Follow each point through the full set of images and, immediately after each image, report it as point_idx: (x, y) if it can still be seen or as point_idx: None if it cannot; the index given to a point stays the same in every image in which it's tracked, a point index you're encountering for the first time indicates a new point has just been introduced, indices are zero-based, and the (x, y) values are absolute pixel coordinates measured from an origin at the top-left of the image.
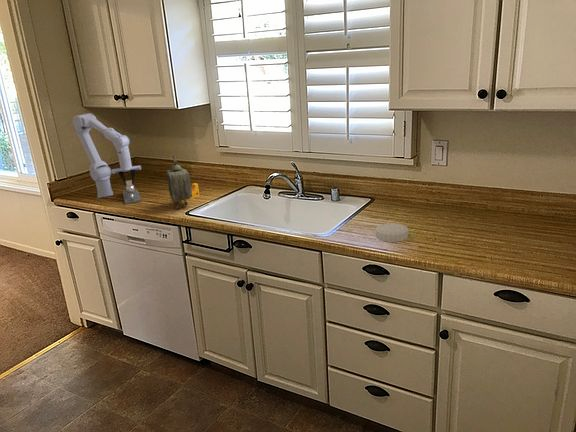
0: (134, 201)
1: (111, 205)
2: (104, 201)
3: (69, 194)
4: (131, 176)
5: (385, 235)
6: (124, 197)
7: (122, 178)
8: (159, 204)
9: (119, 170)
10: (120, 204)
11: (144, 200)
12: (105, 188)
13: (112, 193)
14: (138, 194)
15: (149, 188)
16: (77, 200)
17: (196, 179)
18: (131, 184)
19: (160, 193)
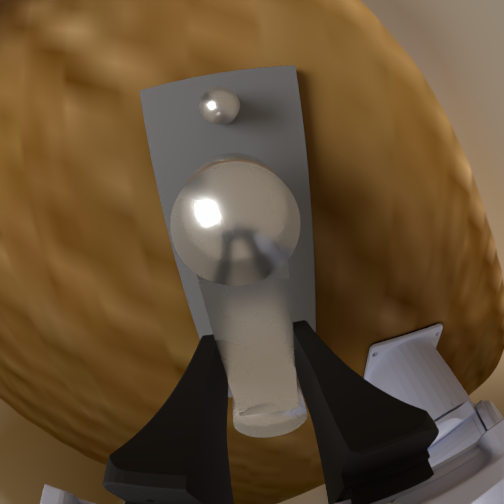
0: (202, 77)
1: (396, 104)
2: (431, 243)
3: (476, 383)
4: (199, 419)
5: None
6: (306, 240)
7: (362, 383)
8: (32, 8)
9: (445, 501)
10: (331, 88)
11: (121, 125)
12: (422, 373)
13: (369, 370)
14: (187, 282)
15: (158, 402)
16: (495, 311)
17: (10, 403)
18: (221, 309)
19: (48, 280)
